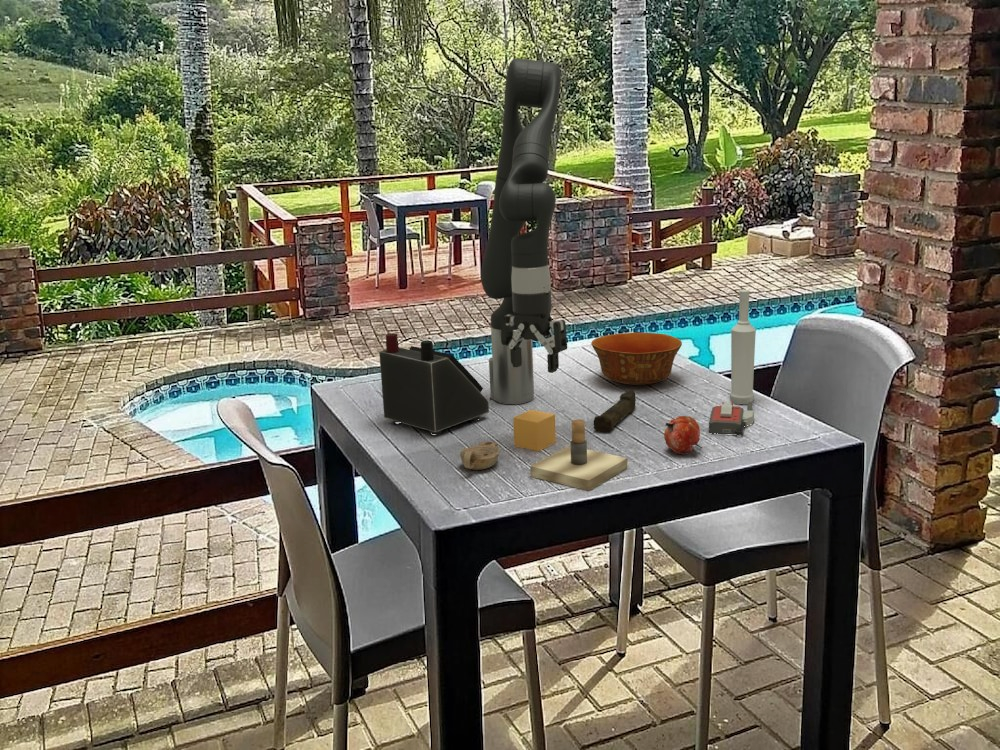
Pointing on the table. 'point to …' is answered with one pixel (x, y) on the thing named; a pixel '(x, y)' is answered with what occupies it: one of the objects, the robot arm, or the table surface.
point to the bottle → (742, 354)
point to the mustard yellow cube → (534, 430)
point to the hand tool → (615, 412)
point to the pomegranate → (682, 434)
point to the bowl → (636, 356)
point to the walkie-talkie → (730, 418)
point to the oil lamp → (480, 456)
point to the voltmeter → (428, 387)
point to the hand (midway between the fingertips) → (534, 369)
